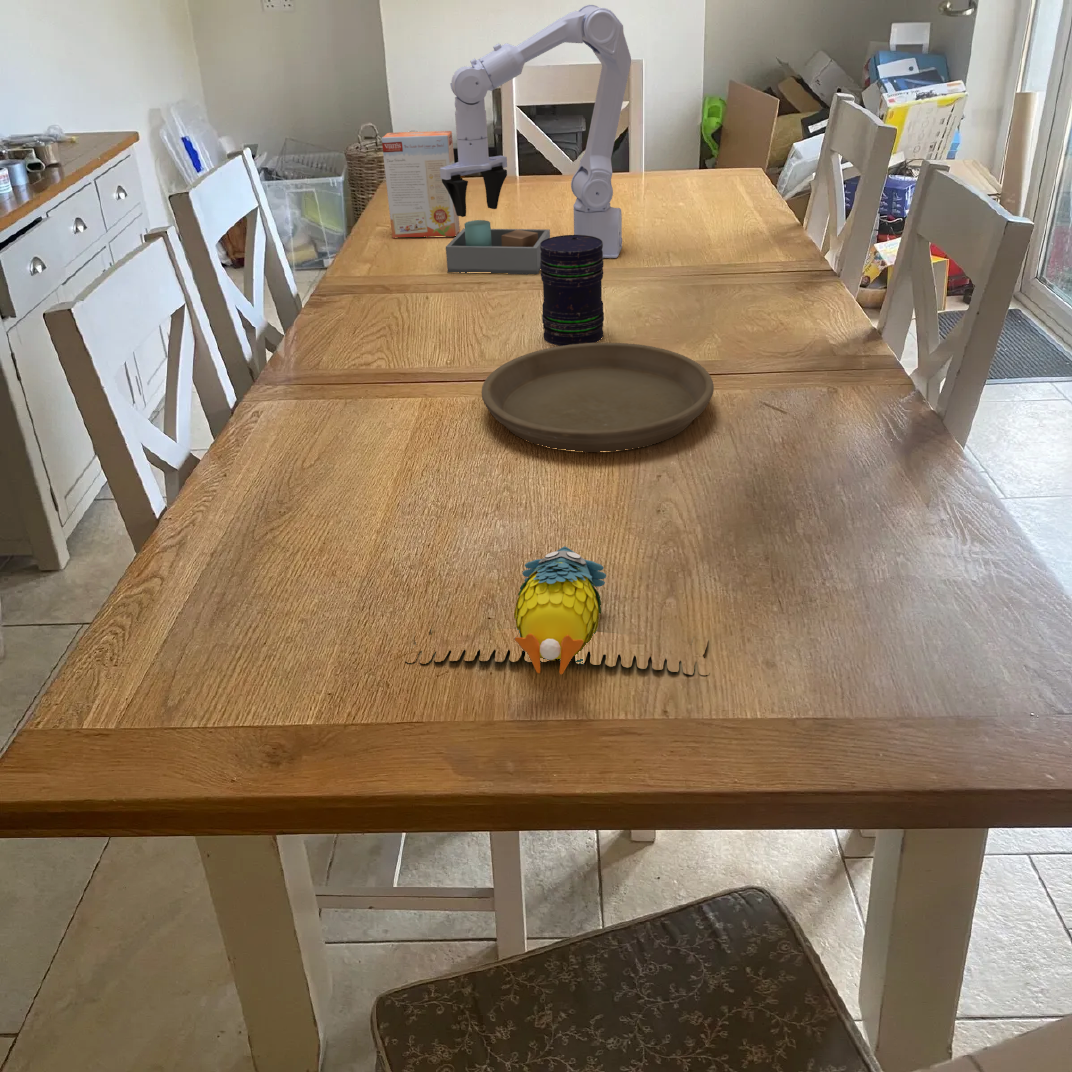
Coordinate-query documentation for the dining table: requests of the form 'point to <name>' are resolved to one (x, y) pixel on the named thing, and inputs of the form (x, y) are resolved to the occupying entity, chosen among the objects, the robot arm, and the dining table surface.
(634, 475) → the dining table surface
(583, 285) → the storage jar
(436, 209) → the cracker box
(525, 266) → the tote
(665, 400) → the plant saucer
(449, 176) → the robot arm
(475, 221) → the teal cylinder
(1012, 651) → the dining table surface
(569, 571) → the owl figurine
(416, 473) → the dining table surface
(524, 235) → the walnut block
